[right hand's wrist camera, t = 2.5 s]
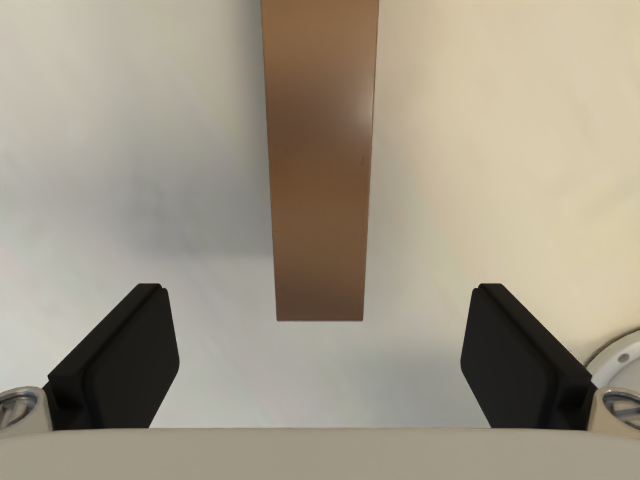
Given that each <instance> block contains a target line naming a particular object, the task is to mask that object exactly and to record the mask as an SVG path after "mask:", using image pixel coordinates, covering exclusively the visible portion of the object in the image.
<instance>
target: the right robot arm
mask: <svg viewBox="0 0 640 480" xmlns="http://www.w3.org/2000/svg"><path fill="white" fill-rule="evenodd" d="M179 363H180V361H179V354H178V348H177V343H176V337H175V331H174V325H173V319H172V313H171V307H170V302H169V296H168V291H167V289H166V288H162V286H161V285H160V284H159V283H141V284H138V285H137V286H136V287H135V288H134V289H133V290H132V291H131V292H130V293H129V294H128V295H127V296H126V297H125V298H124V299H123V300H122V301H121V302H120V303H119V304H118V305H117V306H116V307H115V308H114V309H113V310H112V311H111V312H110V313H109V314H108V315H107V316H106V317H105V318H104V319H103V320H102V321H101V322H100V323H99V324H98V325H97V326H96V327H95V328H94V329H93V330H92V331H91V332H90V333H89V334H88V335H87V336H86V337H85V338H84V339H83V340H82V341H81V342H80V343H79V344H78V345H77V346H76V347H75V348H74V349H73V350H72V351H71V352H70V353H69V354H68V355H67V356H66V357H65V358H64V359H63V360H62V361H61V362H60V363H59V364H58V365H57V366H56V367H55V368H54V369H53V370H52V371H51V373H50V374H49V375H48V379H49V382H48V383H47V384H46V385H45V386H44V387H43V388H42V389H41V388H38V387H32V386H26V387H19V388H14V389H11V390H8V391H4V392H2V393H0V480H640V330H639V331H636V332H634V333H631V334H628V335H626V336H624V337H623V338H621V339H619V340H617V341H615V342H614V343H612V344H611V345H609V346H608V347H607V348H605V349H604V350H603V351H601V352H600V353H599V354H598V355H597V356H596V357H595V358H594V359H593V360H592V361H591V362H590V363H589V365H588V366H587V367H586V368H585V367H584V366H583V365H582V364H581V363H580V362H579V361H578V360H577V359H576V358H575V357H574V356H573V355H572V354H571V353H570V352H569V351H568V350H567V349H566V348H565V347H564V346H563V345H562V344H561V343H560V342H559V341H558V340H557V339H556V338H555V337H554V336H553V335H552V334H551V333H550V332H549V331H548V330H547V329H546V328H545V327H544V326H543V325H542V324H541V323H540V322H539V321H538V320H537V319H536V318H535V317H534V316H533V315H532V314H531V313H530V312H529V311H528V310H527V309H526V308H525V307H524V306H523V305H522V304H521V303H520V302H519V301H518V300H517V299H516V298H515V297H514V296H513V295H512V294H511V293H510V292H509V291H508V290H507V289H506V288H505V287H504V286H503V285H502V284H499V283H481V284H480V285H479V286H478V288H474V289H473V291H472V296H471V302H470V307H469V313H468V319H467V325H466V331H465V337H464V343H463V348H462V354H461V361H460V363H461V370H462V372H463V374H464V376H465V378H466V380H467V382H468V384H469V386H470V388H471V390H472V392H473V394H474V395H475V397H476V399H477V401H478V403H479V405H480V407H481V409H482V411H483V413H484V415H485V416H486V418H487V420H488V422H489V424H490V426H491V428H149V426H150V424H151V422H152V420H153V418H154V416H155V415H156V413H157V411H158V409H159V407H160V405H161V403H162V401H163V399H164V397H165V395H166V394H167V392H168V390H169V388H170V386H171V384H172V382H173V380H174V378H175V376H176V374H177V372H178V370H179Z"/></svg>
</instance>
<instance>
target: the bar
mask: <svg viewBox="0 0 640 480" xmlns="http://www.w3.org/2000/svg"><path fill="white" fill-rule="evenodd" d="M378 12H379V0H261V18H262V38H263V58H264V78H265V98H266V118H267V137H268V157H269V177H270V197H271V217H272V237H273V257H274V277H275V297H276V316H277V321H363V311H364V291H365V271H366V251H367V231H368V211H369V191H370V171H371V151H372V131H373V111H374V92H375V72H376V52H377V32H378Z"/></svg>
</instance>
